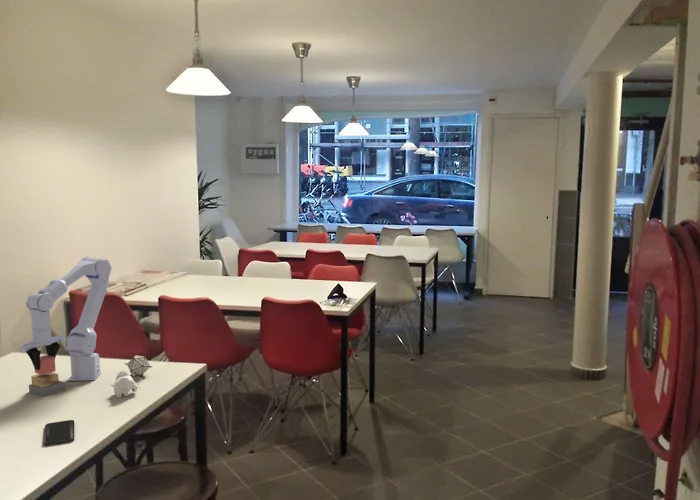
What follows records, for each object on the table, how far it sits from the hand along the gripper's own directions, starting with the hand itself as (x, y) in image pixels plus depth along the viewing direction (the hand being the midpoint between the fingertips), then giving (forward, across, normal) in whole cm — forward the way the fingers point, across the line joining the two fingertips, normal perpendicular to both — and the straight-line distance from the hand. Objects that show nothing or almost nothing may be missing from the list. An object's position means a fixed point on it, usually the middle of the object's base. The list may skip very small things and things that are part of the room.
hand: (44, 367), depth 212 cm
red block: (+2, 0, 0) cm, 2 cm away
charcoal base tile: (+9, 0, 0) cm, 9 cm away
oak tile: (+6, 0, 0) cm, 6 cm away
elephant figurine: (+9, +12, -26) cm, 30 cm away
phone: (+9, -18, -35) cm, 41 cm away
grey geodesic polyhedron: (+9, +27, -14) cm, 32 cm away
